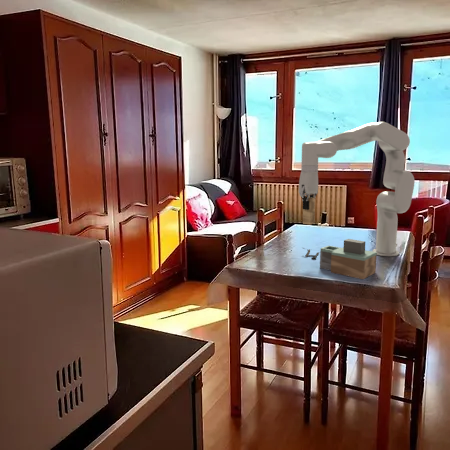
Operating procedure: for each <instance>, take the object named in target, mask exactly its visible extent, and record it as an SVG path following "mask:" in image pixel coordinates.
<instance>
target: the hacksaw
mask: <svg viewBox="0 0 450 450" xmlns="http://www.w3.org/2000/svg"><path fill="white" fill-rule="evenodd" d="M302 249H304V250H305V247H302ZM306 250H307V251H306V254H305V255H302V256H301V257H302V258H304V257H305V258H308V257H310V258H311V260H317V257H318V256H319V255H320V251H319V252H316V254H315V255H314V254H310V253H311V249H307V248H306Z"/></svg>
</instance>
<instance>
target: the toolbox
mask: <svg viewBox="0 0 450 450" xmlns="http://www.w3.org/2000/svg"><path fill="white" fill-rule="evenodd" d="M330 250H333V249H330ZM319 252H320V253H319V269H323V270H327V271H330V273H332V274H337V275H341V276H345V277H351V278H355V279H361V280H365V279H367V278H368V277H370V276H373V275H374V274H376V272H377V271H376V269H377V255H376V256H373V257H371V258H369V259H367V260H365V261H362V260H357V259H352V258H346V257H341V256H336V255H332V253H329V252H323V251H321V250H319Z"/></svg>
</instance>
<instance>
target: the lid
mask: <svg viewBox="0 0 450 450" xmlns="http://www.w3.org/2000/svg"><path fill="white" fill-rule="evenodd" d="M330 249H333V250H330ZM320 251H323V252H329V253H332V255H336V256H341V257H346V258H352V259H357V260H362V261H365V260H367V259H369V258H371V257H373V256H376V257H377V256H378V255H377V252H373V250H366V241H363V240H360V239H359V240H357V239H353V238H352V239H351V238H346V239H344V240H343V247H339V246H333V245H326V246H323V247H321V248H320Z"/></svg>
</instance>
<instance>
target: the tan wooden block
mask: <svg viewBox="0 0 450 450" xmlns="http://www.w3.org/2000/svg"><path fill="white" fill-rule="evenodd" d="M308 201H309V210H306V209H303V208H302V224H303V225H313V224H316V211H315V210H316V197H315V198H309V200H308Z"/></svg>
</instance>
